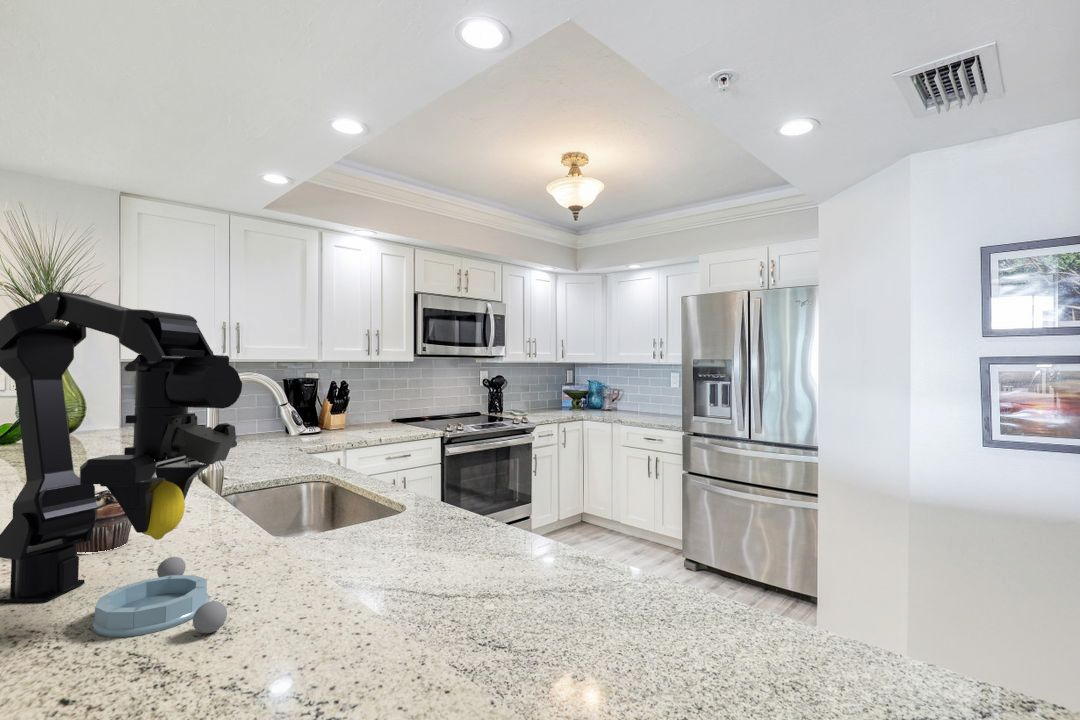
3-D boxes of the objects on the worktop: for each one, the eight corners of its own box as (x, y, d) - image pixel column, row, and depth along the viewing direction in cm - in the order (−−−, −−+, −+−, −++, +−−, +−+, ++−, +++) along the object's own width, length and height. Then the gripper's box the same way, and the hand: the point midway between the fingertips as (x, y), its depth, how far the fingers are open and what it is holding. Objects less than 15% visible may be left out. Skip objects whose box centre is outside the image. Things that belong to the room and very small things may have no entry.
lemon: (156, 548, 64) (158, 483, 64) (119, 544, 65) (122, 481, 65) (194, 534, 69) (196, 475, 70) (159, 532, 70) (161, 473, 71)
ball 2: (185, 639, 60) (186, 609, 60) (203, 624, 64) (204, 596, 64) (216, 638, 60) (216, 608, 60) (232, 624, 64) (233, 596, 64)
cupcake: (146, 541, 96) (148, 487, 96) (91, 558, 86) (93, 499, 87) (106, 537, 98) (108, 484, 98) (48, 554, 89) (50, 496, 89)
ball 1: (151, 585, 76) (151, 561, 76) (167, 576, 79) (167, 553, 79) (175, 585, 76) (176, 561, 76) (190, 576, 79) (191, 553, 79)
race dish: (65, 638, 60) (66, 614, 60) (140, 594, 72) (140, 574, 72) (170, 636, 61) (170, 612, 61) (227, 593, 73) (227, 573, 73)
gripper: (179, 412, 59) (174, 549, 58) (259, 403, 77) (256, 507, 77) (78, 411, 58) (72, 549, 58) (183, 402, 77) (179, 507, 76)
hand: (157, 525), depth 67 cm, fingers closed on lemon, 5 cm apart
